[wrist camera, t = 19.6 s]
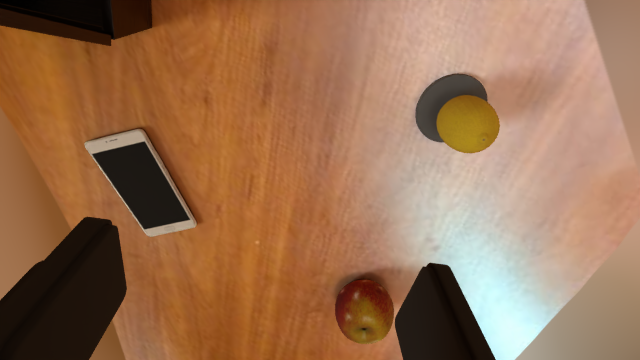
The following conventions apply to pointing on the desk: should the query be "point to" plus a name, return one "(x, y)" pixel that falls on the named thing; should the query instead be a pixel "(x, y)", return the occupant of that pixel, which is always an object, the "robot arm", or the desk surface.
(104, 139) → the smartphone
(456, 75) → the coaster
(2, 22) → the lid
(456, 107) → the lemon
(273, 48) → the desk surface
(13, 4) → the black open square box
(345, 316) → the fruit
